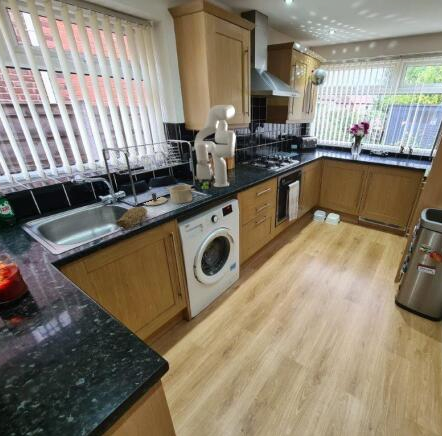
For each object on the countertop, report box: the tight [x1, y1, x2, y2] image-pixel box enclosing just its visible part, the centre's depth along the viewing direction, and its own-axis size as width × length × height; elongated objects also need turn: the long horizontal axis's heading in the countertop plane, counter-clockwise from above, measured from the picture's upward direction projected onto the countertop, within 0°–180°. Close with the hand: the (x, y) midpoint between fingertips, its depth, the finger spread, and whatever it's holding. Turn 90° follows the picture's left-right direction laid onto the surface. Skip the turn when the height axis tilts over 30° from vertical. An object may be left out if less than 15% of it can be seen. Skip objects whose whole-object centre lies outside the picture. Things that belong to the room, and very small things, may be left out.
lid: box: [142, 192, 168, 206], centre depth 160 cm, size 15×15×6 cm
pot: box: [165, 184, 196, 204], centre depth 163 cm, size 14×19×8 cm
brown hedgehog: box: [115, 206, 148, 230], centre depth 132 cm, size 13×8×20 cm
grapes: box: [200, 181, 210, 191], centre depth 169 cm, size 10×5×5 cm, turn 173°
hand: (206, 187), depth 171 cm, fingers closed on grapes, 5 cm apart
